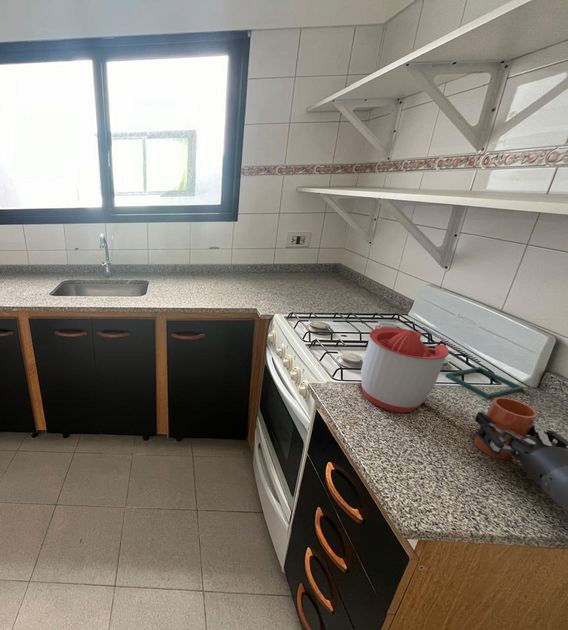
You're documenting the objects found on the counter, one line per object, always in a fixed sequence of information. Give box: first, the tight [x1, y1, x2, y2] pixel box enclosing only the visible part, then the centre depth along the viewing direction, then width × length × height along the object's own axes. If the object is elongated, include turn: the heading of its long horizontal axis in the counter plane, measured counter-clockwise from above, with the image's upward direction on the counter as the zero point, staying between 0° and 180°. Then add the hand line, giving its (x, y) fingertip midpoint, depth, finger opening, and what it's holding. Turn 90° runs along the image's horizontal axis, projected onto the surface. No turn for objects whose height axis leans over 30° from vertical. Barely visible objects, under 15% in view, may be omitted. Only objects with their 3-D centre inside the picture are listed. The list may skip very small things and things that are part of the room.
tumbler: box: [473, 396, 538, 461], centre depth 71 cm, size 6×6×11 cm
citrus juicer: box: [360, 327, 450, 414], centre depth 85 cm, size 16×17×20 cm
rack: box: [445, 366, 525, 400], centre depth 92 cm, size 12×10×2 cm
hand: (497, 417), depth 73 cm, fingers closed on tumbler, 6 cm apart
